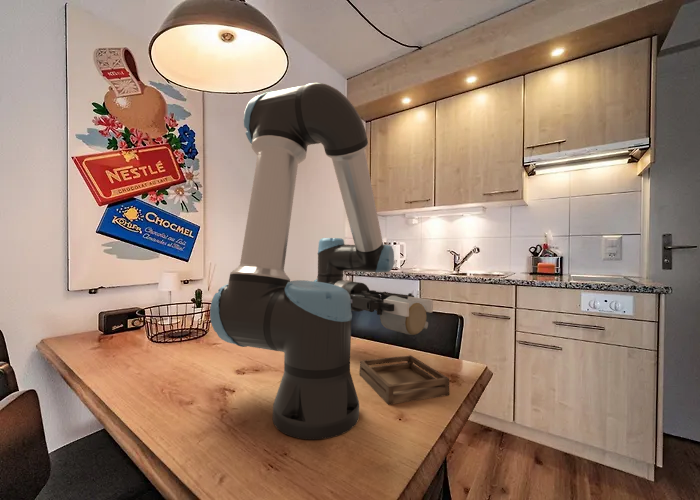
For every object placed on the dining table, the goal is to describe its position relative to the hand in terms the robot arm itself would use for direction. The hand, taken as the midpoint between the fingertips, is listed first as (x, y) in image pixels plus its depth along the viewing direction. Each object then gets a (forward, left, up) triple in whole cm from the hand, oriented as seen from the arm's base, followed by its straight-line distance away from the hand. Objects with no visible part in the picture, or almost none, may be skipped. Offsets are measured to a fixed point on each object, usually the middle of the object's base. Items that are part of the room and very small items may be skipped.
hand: (420, 307), depth 66 cm
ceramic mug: (0, +5, -6) cm, 8 cm away
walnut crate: (-2, +4, -18) cm, 18 cm away
